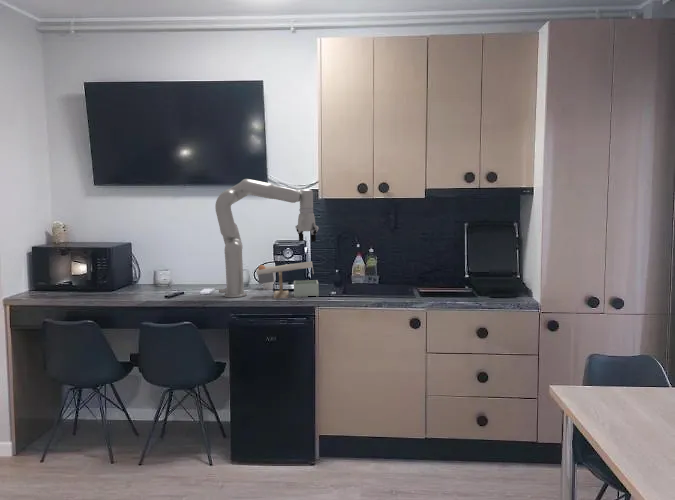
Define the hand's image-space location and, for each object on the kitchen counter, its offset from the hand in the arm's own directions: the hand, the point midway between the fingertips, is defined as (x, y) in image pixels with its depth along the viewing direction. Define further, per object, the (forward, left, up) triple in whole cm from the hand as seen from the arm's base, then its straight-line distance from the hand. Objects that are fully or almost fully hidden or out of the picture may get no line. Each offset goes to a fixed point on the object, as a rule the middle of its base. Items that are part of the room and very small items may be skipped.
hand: (307, 241), depth 344 cm
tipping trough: (-13, -2, -20) cm, 24 cm away
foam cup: (-24, +18, -30) cm, 42 cm away
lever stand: (-16, -7, -30) cm, 34 cm away
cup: (-2, -7, -30) cm, 30 cm away
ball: (-26, -7, -14) cm, 30 cm away
